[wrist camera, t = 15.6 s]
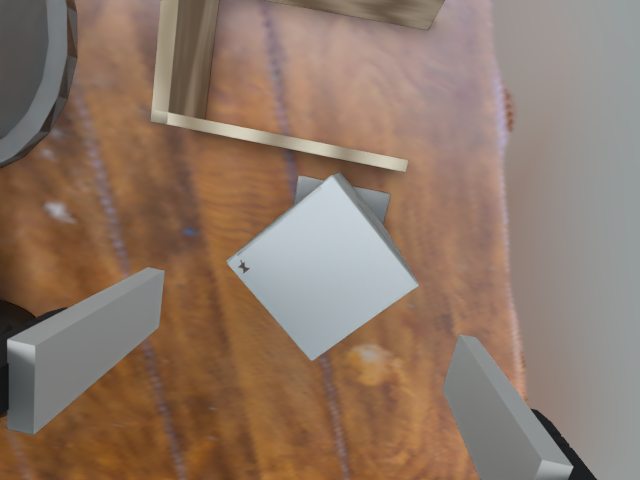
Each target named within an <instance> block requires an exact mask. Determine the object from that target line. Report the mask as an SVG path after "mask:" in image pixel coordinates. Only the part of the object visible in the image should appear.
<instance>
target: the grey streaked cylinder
mask: <svg viewBox="0 0 640 480" xmlns="http://www.w3.org/2000/svg"><path fill="white" fill-rule="evenodd" d="M76 62H77V10H76V6H75V2H74V0H0V168H2V167H4V166H6V165H8V164H10V163H12V162H14V161H16V160H19V159H21V158H23V157H24V156H25V155H27V154H28V153H29V152H30V151H31V150H32V149H33V148H34V147H35V146H36V145H37V144H38V143H39V142H40V141H41V140H42V139H43V138H44V137H45V136H46V135H47V134H48V133H49V132H50V130H51V129H52V127H53V125H54V123H55V121H56V119H57V118H58V116H59V114H60V112H61V110H62V108H63V107H64V105H65V103H66V101H67V99H68V95H69V91H70V87H71V83H72V79H73V74H74V70H75V66H76Z"/></svg>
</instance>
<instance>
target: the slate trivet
mask: <svg viewBox="0 0 640 480" xmlns="http://www.w3.org/2000/svg"><path fill="white" fill-rule="evenodd" d="M323 181H324V180H322V179H317V178H312V177H307V176H302V175H299V178H298V183H297V189H296V194H295V200H294V204H296V203H297V202H298V201H299V200H301V199H302V198H303V197H304V196H305V195H307V194H308V193H309V192H310V191H312V190H313V189H314V188H316V187H317V186H318V185H319V184H321V183H322V182H323ZM352 187H353V188H354V189H355V190H356V192H357V193H358V194H359V195H360V196H361V198H362V199H363V200H364V201H365V203H366V204H367V205H368V206H369V208H370V209H371V210H372V212H373V213H374V214H375V215H376V217H377V218H378V219H379V221H380V222H381V223H382V225H383V222H384V218H385V214H386V210H387V205H388V201H389V197H390V193H386V192H381V191H376V190H371V189H366V188H361V187H356V186H352Z"/></svg>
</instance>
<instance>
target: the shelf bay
mask: <svg viewBox="0 0 640 480" xmlns="http://www.w3.org/2000/svg"><path fill="white" fill-rule="evenodd" d="M266 1H271V2H277V3H282V4H288V5H293V6H299V7H304V8H310V9H315V10H320V11H326V12H331V13H337V14H342V15H348V16H353V17H359V18H364V19H370V20H375V21H381V22H386V23H391V24H397V25H402V26H408V27H413V28H419V29H424V30H428V29H429V28H430V26H431V24H432V22H433V21H434V19H435V17H436V15H437V14H438V12H439V10H440V8H441V7H442V5H443V3H444V1H445V0H266ZM218 4H219V0H161V7H160V19H159V31H158V43H157V55H156V66H155V78H154V90H153V102H152V114H151V121H154V122H158V123H163V124H167V125H172V126H177V127H181V128H186V129H191V130H196V131H201V132H206V133H210V134H215V135H220V136H225V137H230V138H235V139H240V140H245V141H250V142H255V143H260V144H265V145H270V146H275V147H280V148H285V149H290V150H295V151H300V152H305V153H310V154H315V155H320V156H325V157H330V158H335V159H340V160H345V161H350V162H355V163H360V164H365V165H370V166H375V167H380V168H385V169H390V170H395V171H402V172H406V168H407V164H408V160H404V159H399V158H394V157H389V156H384V155H379V154H374V153H369V152H364V151H359V150H354V149H349V148H344V147H339V146H334V145H329V144H324V143H319V142H314V141H309V140H303V139H298V138H293V137H288V136H283V135H278V134H273V133H268V132H263V131H258V130H253V129H248V128H243V127H238V126H233V125H228V124H223V123H218V122H213V121H208V120H205V116H206V107H207V99H208V90H209V81H210V73H211V64H212V56H213V47H214V39H215V30H216V21H217V13H218Z"/></svg>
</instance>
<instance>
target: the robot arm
mask: <svg viewBox="0 0 640 480" xmlns="http://www.w3.org/2000/svg"><path fill="white" fill-rule="evenodd" d="M164 272H165V271H163V270H159V269H154V268H149V267H147V268H145V269H143V270H142V271H140V272H138V273H136V274H134V275H132V276H130V277H128V278H126V279H124V280H122V281H120V282H118V283H116V284H114V285H112V286H110V287H108V288H106V289H105V290H103V291H101V292H99V293H97V294H95V295H93V296H91V297H89V298H87V299H85V300H83V301H81V302H79V303H77V304H75V305H73V306H71V307H70V308H67V307H65V308H61V309H58V310H54V311H50V312H47V313H45V314H43V315H41V316H39V317H37V318H34V317H33V316H32V315H31V314H29V313H28V312H27V311H25V310H23V309H22V308H20V307H18V306H16V305H13V304H10V303H7V302H3V301H0V418H1V417H3V416H6V415H7V429H10V430H15V431H19V432H23V433H27V434H32V435H34V434H35V433H37V432H38V431H39V430H40V429H41V428H42V427H43V426H45V425H46V424H47V423H48V422H49V421H50V420H52V419H53V418H54V417H55V416H56V415H57V414H59V413H60V412H61V411H62V410H63V409H64V408H66V407H67V406H68V405H69V404H70V403H71V402H73V401H74V400H75V399H76V398H77V397H78V396H79V395H81V394H82V393H83V392H84V391H85V390H86V389H88V388H89V387H90V386H91V385H92V384H93V383H95V382H96V381H97V380H98V379H99V378H100V377H102V376H103V375H104V374H105V373H106V372H107V371H109V370H110V369H111V368H112V367H113V366H114V365H115V364H117V363H118V362H119V361H120V360H121V359H122V358H124V357H125V356H126V355H127V354H128V353H129V352H131V351H132V350H133V349H134V348H135V347H136V346H138V345H139V344H140V343H141V342H142V341H143V340H145V339H146V338H147V337H148V336H149V335H150V334H151V333H153V332H154V331H155V330H156V329H157V328H158V327H159V321H160V311H161V302H162V292H163V282H164ZM442 391H443V393H444V395H445V398H446V400H447V402H448V405H449V407H450V410H451V412H452V414H453V417H454V419H455V421H456V424H457V426H458V429H459V431H460V433H461V436H462V438H463V440H464V443H465V445H466V448H467V450H468V452H469V455H470V457H471V459H472V462H473V464H474V467H475V469H476V471H477V474H478V476H479V478H480V480H597V479H596V478H595V477H594V475H593V474H592V473H591V472H590V470H589V469H588V468H587V466H586V465H585V464H584V463H583V461H582V460H581V459H580V458H579V457H578V455H577V454H576V453H575V451H574V450H573V449H572V448H570V447H569V444H568V443H567V441H566V440H565V439H564V438H563V437H561V434H560V432H559V431H558V430H557V429H556V427H555V426H554V425H553V424H552V422H551V421H549V420H548V419H547V418H546V417H545V416H543V415H542V414H541V413H540V412H539V411H537V410H534V409H530V408H529V407H528V405H527V404H526V403H525V401H524V400H523V399H522V397H521V396H520V395H519V393H518V392H517V391H516V389H515V388H514V387H513V385H512V384H511V383H510V381H509V380H508V379H507V377H506V376H505V375H504V373H503V372H502V371H501V369H500V368H499V367H498V365H497V364H496V363H495V361H494V360H493V359H492V357H491V356H490V355H489V353H488V352H487V351H486V349H485V348H484V347H483V345H482V344H481V343H480V341H479V340H478V339H477V338H475V337H471V336H466V335H461V334H459V337H458V340H457V343H456V346H455V350H454V353H453V356H452V359H451V362H450V366H449V369H448V372H447V375H446V379H445V382H444V385H443V388H442Z"/></svg>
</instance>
